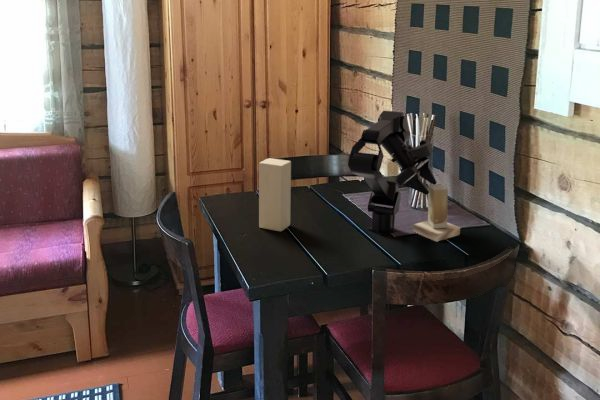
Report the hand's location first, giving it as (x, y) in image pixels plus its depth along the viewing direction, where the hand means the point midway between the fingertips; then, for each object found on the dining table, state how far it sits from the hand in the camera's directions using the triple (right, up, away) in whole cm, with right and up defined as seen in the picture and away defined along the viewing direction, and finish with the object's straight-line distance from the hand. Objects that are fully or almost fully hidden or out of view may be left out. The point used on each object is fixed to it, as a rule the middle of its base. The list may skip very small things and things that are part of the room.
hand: (431, 188), depth 208 cm
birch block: (+2, -14, +3) cm, 15 cm away
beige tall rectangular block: (-48, -12, +8) cm, 50 cm away
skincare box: (+2, -11, +2) cm, 12 cm away
